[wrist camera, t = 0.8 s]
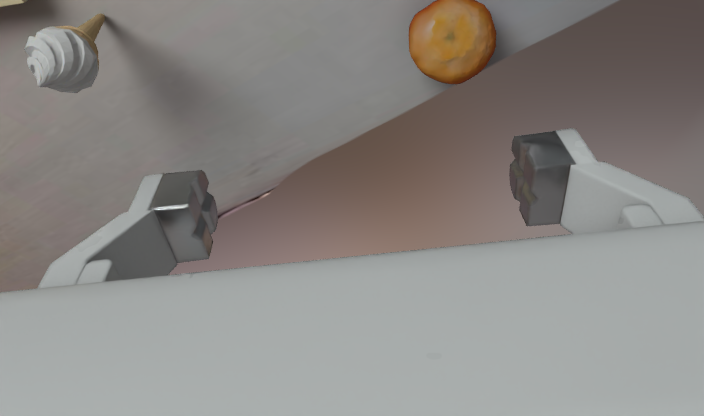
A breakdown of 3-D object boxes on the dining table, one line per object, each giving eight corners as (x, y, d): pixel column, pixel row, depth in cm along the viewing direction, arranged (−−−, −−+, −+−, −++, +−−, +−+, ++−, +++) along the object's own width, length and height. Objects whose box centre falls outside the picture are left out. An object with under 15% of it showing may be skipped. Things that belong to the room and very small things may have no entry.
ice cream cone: (90, -27, 50) (17, 35, 38) (144, 15, 53) (91, 86, 41) (61, 17, 52) (-15, 88, 41) (114, 55, 55) (56, 132, 43)
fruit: (434, 98, 57) (427, 98, 50) (402, 29, 57) (391, 18, 49) (507, 62, 55) (511, 56, 48) (475, -10, 55) (474, -28, 47)
